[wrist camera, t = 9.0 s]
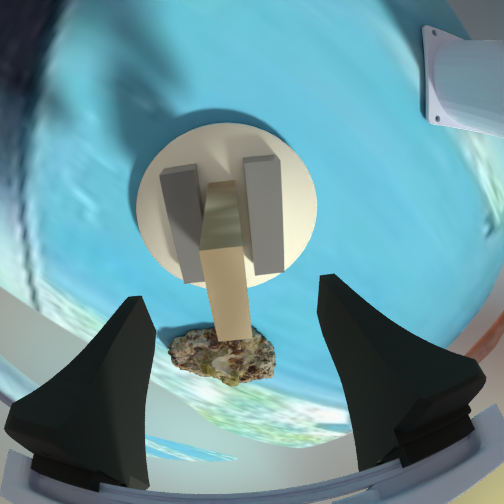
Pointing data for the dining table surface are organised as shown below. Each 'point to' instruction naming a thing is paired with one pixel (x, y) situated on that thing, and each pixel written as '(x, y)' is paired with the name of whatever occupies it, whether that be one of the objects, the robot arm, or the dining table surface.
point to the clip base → (248, 198)
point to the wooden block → (225, 263)
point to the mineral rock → (224, 356)
